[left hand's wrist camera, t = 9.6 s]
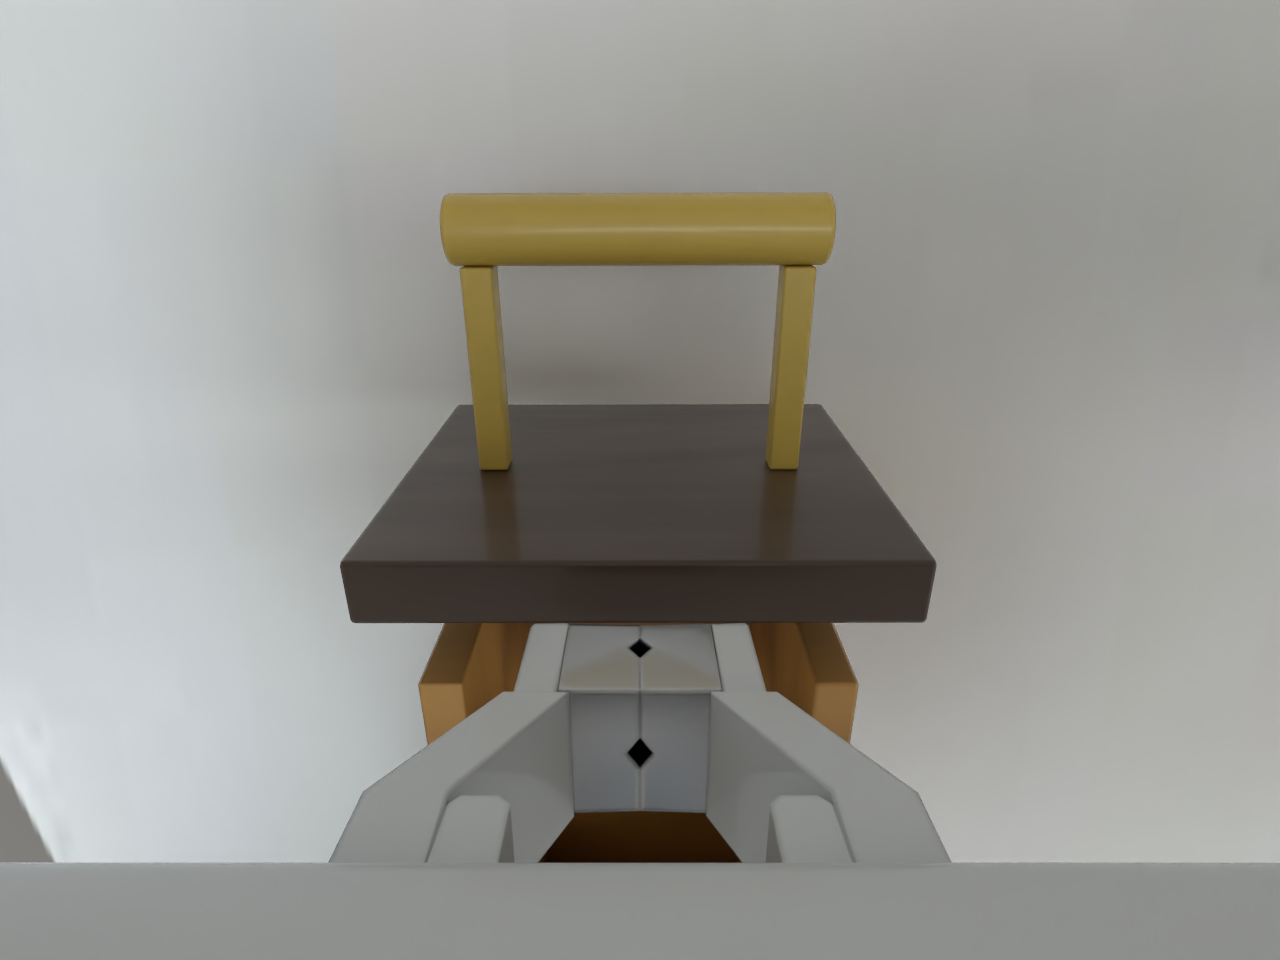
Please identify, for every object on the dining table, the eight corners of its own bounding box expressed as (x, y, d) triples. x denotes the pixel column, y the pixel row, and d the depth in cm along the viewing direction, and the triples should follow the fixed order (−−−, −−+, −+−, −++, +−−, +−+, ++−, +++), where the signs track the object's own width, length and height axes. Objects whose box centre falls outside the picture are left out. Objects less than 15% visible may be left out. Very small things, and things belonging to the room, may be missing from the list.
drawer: (433, 186, 17) (266, 206, 9) (843, 185, 17) (1007, 204, 9) (510, 891, 27) (459, 1179, 19) (770, 891, 27) (821, 1179, 19)
